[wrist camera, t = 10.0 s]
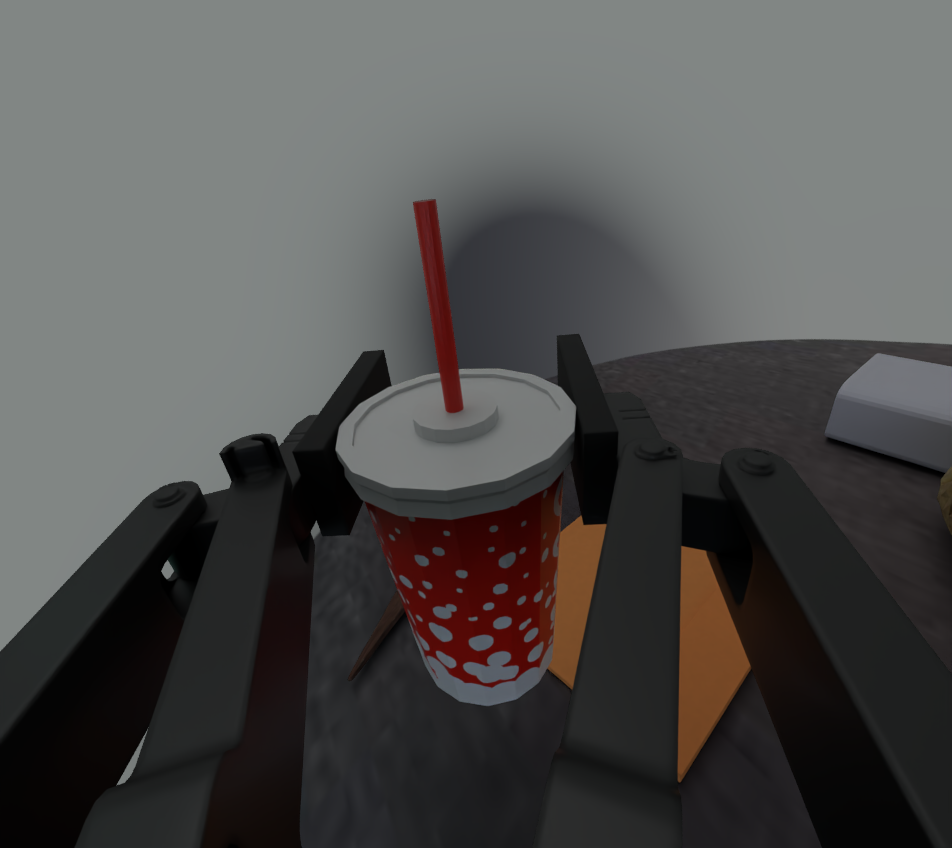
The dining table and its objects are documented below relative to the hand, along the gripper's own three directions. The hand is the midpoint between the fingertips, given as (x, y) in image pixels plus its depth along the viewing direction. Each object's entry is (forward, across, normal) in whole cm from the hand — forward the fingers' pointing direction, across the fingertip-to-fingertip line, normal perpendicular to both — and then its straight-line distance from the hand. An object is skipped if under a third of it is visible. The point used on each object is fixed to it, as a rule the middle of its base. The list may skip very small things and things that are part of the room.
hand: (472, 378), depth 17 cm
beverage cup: (-5, 0, -8) cm, 9 cm away
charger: (+14, +33, -15) cm, 39 cm away
